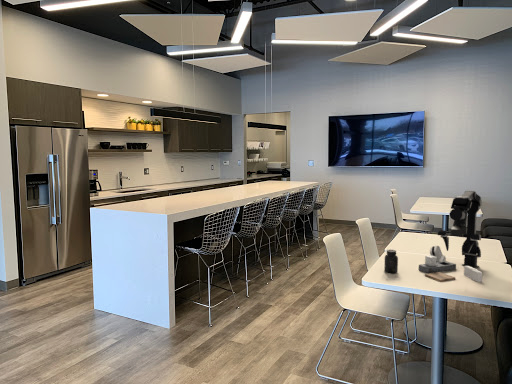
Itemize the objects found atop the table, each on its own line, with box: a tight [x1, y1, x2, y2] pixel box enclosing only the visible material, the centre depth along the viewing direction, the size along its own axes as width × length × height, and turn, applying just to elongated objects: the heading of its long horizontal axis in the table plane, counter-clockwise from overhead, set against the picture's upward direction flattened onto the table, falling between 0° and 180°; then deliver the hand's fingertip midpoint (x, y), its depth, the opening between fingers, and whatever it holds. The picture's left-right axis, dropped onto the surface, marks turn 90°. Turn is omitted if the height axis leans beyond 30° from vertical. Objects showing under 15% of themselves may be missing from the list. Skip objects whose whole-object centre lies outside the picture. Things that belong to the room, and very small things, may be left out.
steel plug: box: [424, 255, 437, 267], centre depth 208 cm, size 4×4×8 cm
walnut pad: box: [424, 272, 456, 283], centre depth 197 cm, size 10×10×1 cm
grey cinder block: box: [418, 260, 457, 274], centre depth 211 cm, size 20×7×3 cm, turn 112°
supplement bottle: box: [383, 249, 399, 275], centre depth 206 cm, size 7×7×12 cm
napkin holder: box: [463, 266, 483, 283], centre depth 195 cm, size 15×11×6 cm
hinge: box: [429, 245, 447, 262], centre depth 229 cm, size 17×5×10 cm, turn 148°
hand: (457, 252), depth 191 cm, fingers open, 9 cm apart
